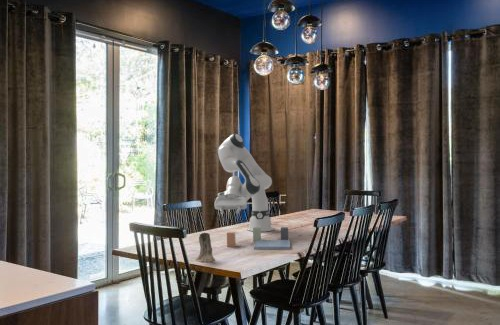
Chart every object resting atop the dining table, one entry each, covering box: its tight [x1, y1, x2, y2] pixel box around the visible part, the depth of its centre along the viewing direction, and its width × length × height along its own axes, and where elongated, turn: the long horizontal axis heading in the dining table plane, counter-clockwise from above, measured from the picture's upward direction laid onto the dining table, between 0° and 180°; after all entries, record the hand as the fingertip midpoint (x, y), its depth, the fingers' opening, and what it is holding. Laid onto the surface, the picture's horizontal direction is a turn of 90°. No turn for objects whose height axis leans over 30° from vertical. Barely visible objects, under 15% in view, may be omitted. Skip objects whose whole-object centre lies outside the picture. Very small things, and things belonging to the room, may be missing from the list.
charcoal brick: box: [280, 226, 289, 240], centre depth 270 cm, size 4×4×8 cm
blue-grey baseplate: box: [253, 239, 291, 250], centre depth 256 cm, size 20×20×2 cm
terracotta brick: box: [226, 231, 237, 248], centre depth 257 cm, size 4×4×8 cm
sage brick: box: [252, 227, 262, 242], centre depth 272 cm, size 4×4×8 cm
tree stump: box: [195, 232, 216, 263], centre depth 224 cm, size 10×10×13 cm
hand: (229, 213), depth 268 cm, fingers open, 8 cm apart
